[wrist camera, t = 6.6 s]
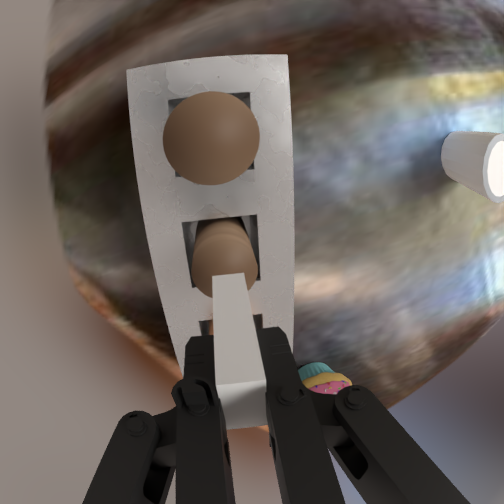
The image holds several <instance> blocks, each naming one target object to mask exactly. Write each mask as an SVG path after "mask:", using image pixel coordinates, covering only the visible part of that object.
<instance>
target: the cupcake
mask: <svg viewBox="0 0 504 504" xmlns="http://www.w3.org/2000/svg"><path fill="white" fill-rule="evenodd" d="M298 372H299V375H300V378H301V381H302V383H303V384H304V385H305V386H306V387H307V388H308V389H310V390H312V391H314V392H317V393H323V394H337V393H338V392H339V391H340V390H341V389H343V388H344V387H347V386H351V385H352V383H351V381H350V380H349V379H348V378H347V377H345V376H343V375H342V374H340V373H335V372H333V371H332V370H331V369H330V368H329V367H328V366H327V365H326V364H324V363H320V362H314V363H310V364H307V365H305V366H303V367H301V368H300V369H299V370H298Z"/></svg>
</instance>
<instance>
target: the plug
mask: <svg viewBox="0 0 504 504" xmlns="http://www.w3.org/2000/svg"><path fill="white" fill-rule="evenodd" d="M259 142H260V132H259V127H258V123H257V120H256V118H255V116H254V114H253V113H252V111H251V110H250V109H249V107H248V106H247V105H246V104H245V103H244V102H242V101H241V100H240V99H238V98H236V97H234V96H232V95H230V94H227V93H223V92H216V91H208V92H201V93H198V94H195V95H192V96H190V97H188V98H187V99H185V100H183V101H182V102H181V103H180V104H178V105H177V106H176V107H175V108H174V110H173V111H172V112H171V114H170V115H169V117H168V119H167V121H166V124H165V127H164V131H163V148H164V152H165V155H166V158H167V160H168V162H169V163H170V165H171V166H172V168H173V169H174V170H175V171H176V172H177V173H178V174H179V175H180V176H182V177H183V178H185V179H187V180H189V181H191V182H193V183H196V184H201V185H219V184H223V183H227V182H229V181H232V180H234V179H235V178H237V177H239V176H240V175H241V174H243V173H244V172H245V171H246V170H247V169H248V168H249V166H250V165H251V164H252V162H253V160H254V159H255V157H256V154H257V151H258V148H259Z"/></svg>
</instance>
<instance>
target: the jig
mask: <svg viewBox="0 0 504 504" xmlns="http://www.w3.org/2000/svg"><path fill="white" fill-rule="evenodd" d="M127 87H128V102H129V114H130V125H131V135H132V144H133V152H134V160H135V168H136V175H137V182H138V188H139V195H140V201H141V207H142V213H143V218H144V224H145V229H146V234H147V240H148V245H149V249H150V254H151V259H152V264H153V268H154V273H155V277H156V281H157V286H158V290H159V294H160V298H161V302H162V306H163V310H164V314H165V317H166V321H167V325H168V329H169V332H170V336H171V339H172V343H173V346H174V350H175V353H176V356H177V360H178V363H179V366H180V369H181V373H182V376H183V375H184V358H185V345H186V344H187V342H188V341H189V339H190V337H192V336H204V335H209V320H212V319H213V298H210V297H208V296H206V295H204V294H203V293H202V292H201V291H200V290H199V289H198V288H197V287H196V285H195V284H194V281H193V279H192V273H191V270H192V260H193V251H194V243H195V235H196V228H197V224H198V221H199V220H206V219H216V218H225V217H235V216H240V217H241V218H242V220H243V222H244V225H245V228H246V231H247V234H248V237H249V240H250V243H251V246H252V249H253V253H254V256H255V259H256V262H257V267H258V274H257V278H256V281H255V283H254V284H253V286H252V287H251V288H250V290H249V291H248V295H249V300H250V305H251V310H252V315H253V319H254V324H255V328H256V329H261V328H269V327H277V326H279V327H280V328H281V329H282V330H283V331H284V332H285V333H286V335H287V338H288V341H289V345H290V347H291V351H292V354H293V322H294V183H293V150H292V125H291V105H290V87H289V72H288V57H287V55H234V56H218V57H207V58H197V59H188V60H180V61H173V62H166V63H160V64H154V65H149V66H144V67H138V68H134V69H129V70H127ZM208 91H216V92H223V93H227V94H230V95H232V96H234V97H236V98H238V99H240V100H241V101H242V102H244V103H245V104H246V105H247V106H248V107H249V109H250V110H251V111H252V113H253V114H254V116H255V118H256V120H257V123H258V127H259V132H260V142H259V148H258V151H257V154H256V157H255V159H254V160H253V162H252V164H251V165H250V166H249V168H248V169H247V170H246V171H245V172H244V173H243V174H241V175H240V176H239V177H237V178H235V179H234V180H232V181H229V182H227V183H223V184H219V185H201V184H196V183H193V182H191V181H189V180H187V179H185V178H183V177H182V176H180V175H179V174H178V173H177V172H176V171H175V170H174V169H173V168H172V166H171V165H170V163H169V162H168V160H167V158H166V155H165V152H164V148H163V131H164V127H165V124H166V121H167V119H168V117H169V115H170V114H171V112H172V111H173V110H174V108H175V107H176V106H177V105H178V104H180V103H181V102H182V101H183V100H185V99H187V98H188V97H190V96H192V95H195V94H198V93H201V92H208Z"/></svg>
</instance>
